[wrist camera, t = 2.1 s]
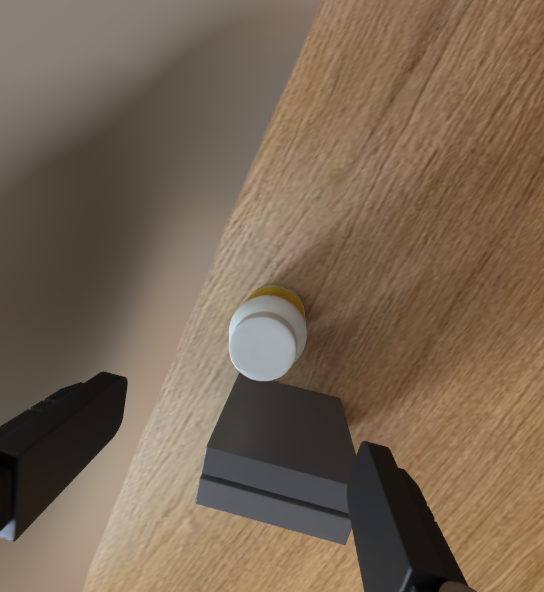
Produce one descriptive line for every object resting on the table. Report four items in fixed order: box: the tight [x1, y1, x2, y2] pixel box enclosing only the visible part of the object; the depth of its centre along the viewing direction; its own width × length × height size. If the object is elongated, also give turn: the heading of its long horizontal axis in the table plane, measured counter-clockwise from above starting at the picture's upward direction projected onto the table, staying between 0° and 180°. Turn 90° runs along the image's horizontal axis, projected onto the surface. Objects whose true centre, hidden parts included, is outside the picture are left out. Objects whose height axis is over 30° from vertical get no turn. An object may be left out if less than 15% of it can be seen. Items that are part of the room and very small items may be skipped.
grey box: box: [195, 373, 356, 545], centre depth 22 cm, size 10×4×10 cm, turn 77°
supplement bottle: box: [229, 284, 307, 381], centre depth 21 cm, size 5×5×10 cm
